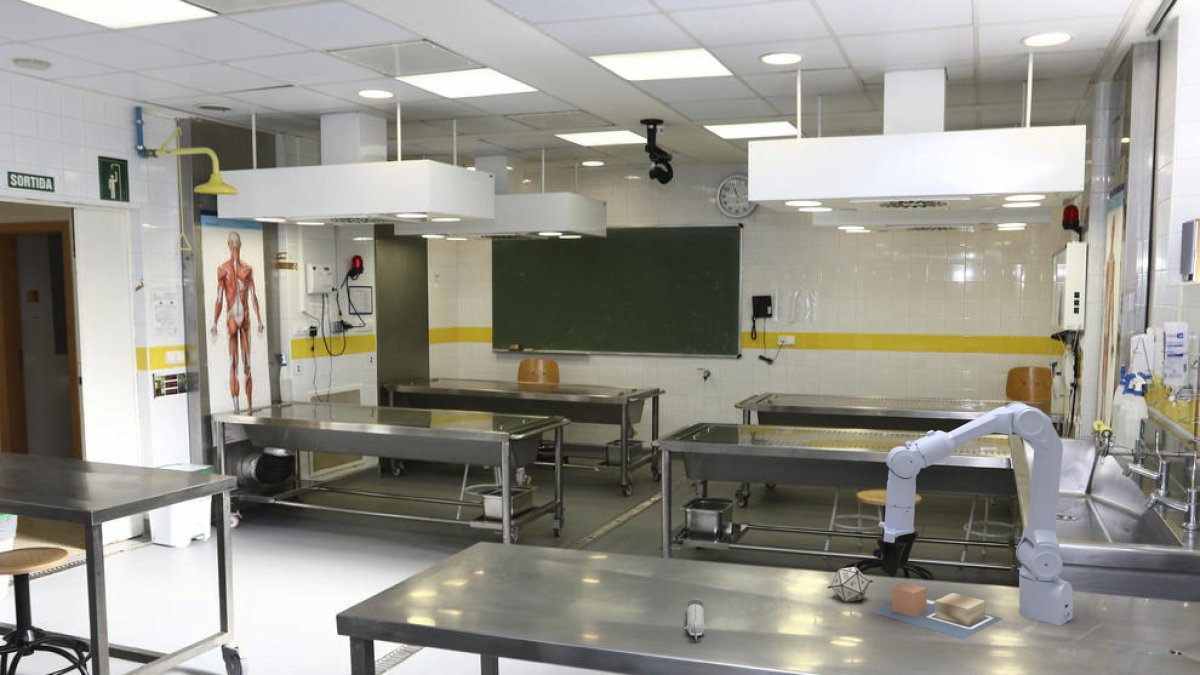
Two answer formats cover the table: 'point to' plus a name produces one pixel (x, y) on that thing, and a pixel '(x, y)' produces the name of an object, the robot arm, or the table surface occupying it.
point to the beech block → (960, 609)
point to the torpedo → (695, 618)
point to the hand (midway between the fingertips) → (896, 569)
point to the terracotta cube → (909, 599)
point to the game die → (850, 584)
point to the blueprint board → (939, 621)
